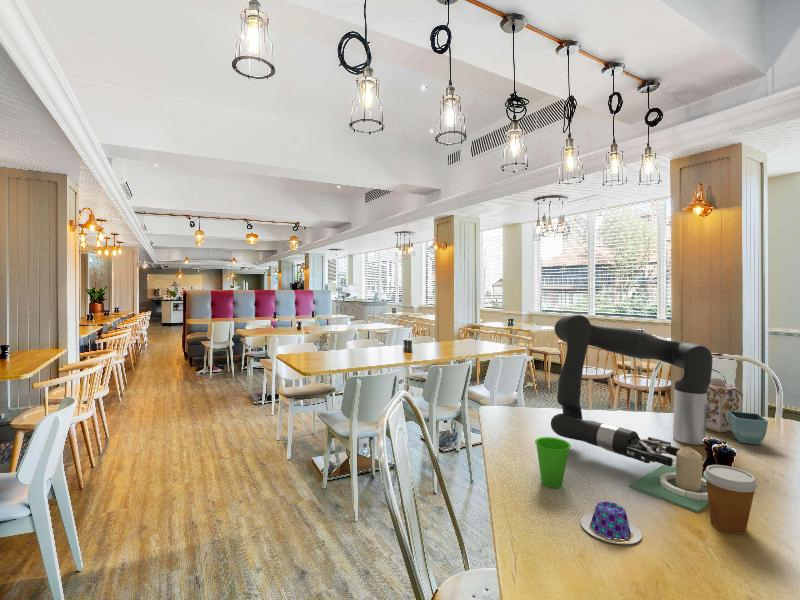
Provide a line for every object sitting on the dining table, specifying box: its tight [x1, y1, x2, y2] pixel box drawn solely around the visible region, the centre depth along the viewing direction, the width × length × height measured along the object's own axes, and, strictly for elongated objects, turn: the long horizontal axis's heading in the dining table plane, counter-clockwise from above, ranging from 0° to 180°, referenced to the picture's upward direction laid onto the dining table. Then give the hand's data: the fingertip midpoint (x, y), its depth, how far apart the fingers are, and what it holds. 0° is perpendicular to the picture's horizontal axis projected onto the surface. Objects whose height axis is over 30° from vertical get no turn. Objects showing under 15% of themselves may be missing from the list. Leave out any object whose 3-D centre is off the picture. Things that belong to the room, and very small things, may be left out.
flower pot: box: [728, 411, 769, 446], centre depth 147 cm, size 9×9×9 cm
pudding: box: [580, 501, 643, 545], centre depth 94 cm, size 12×12×5 cm
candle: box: [675, 446, 703, 491], centre depth 112 cm, size 6×6×10 cm
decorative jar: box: [706, 377, 744, 433], centre depth 162 cm, size 12×12×18 cm
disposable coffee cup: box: [703, 464, 759, 535], centre depth 95 cm, size 10×10×12 cm
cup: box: [534, 436, 572, 489], centre depth 115 cm, size 9×9×11 cm
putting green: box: [628, 464, 709, 514], centre depth 114 cm, size 22×16×2 cm
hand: (679, 458), depth 114 cm, fingers open, 8 cm apart
